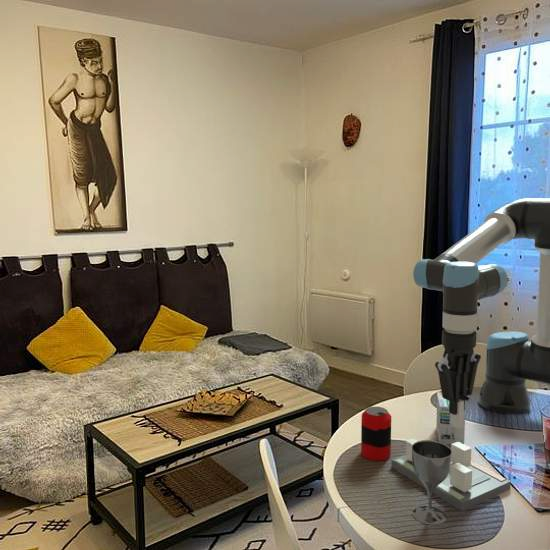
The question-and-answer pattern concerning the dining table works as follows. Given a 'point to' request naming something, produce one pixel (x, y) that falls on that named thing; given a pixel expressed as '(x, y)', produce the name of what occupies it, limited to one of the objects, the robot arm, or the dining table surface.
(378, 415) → the soda can
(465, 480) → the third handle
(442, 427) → the light bulb box
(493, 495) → the board
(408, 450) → the handle
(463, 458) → the white square block
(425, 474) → the wine glass
